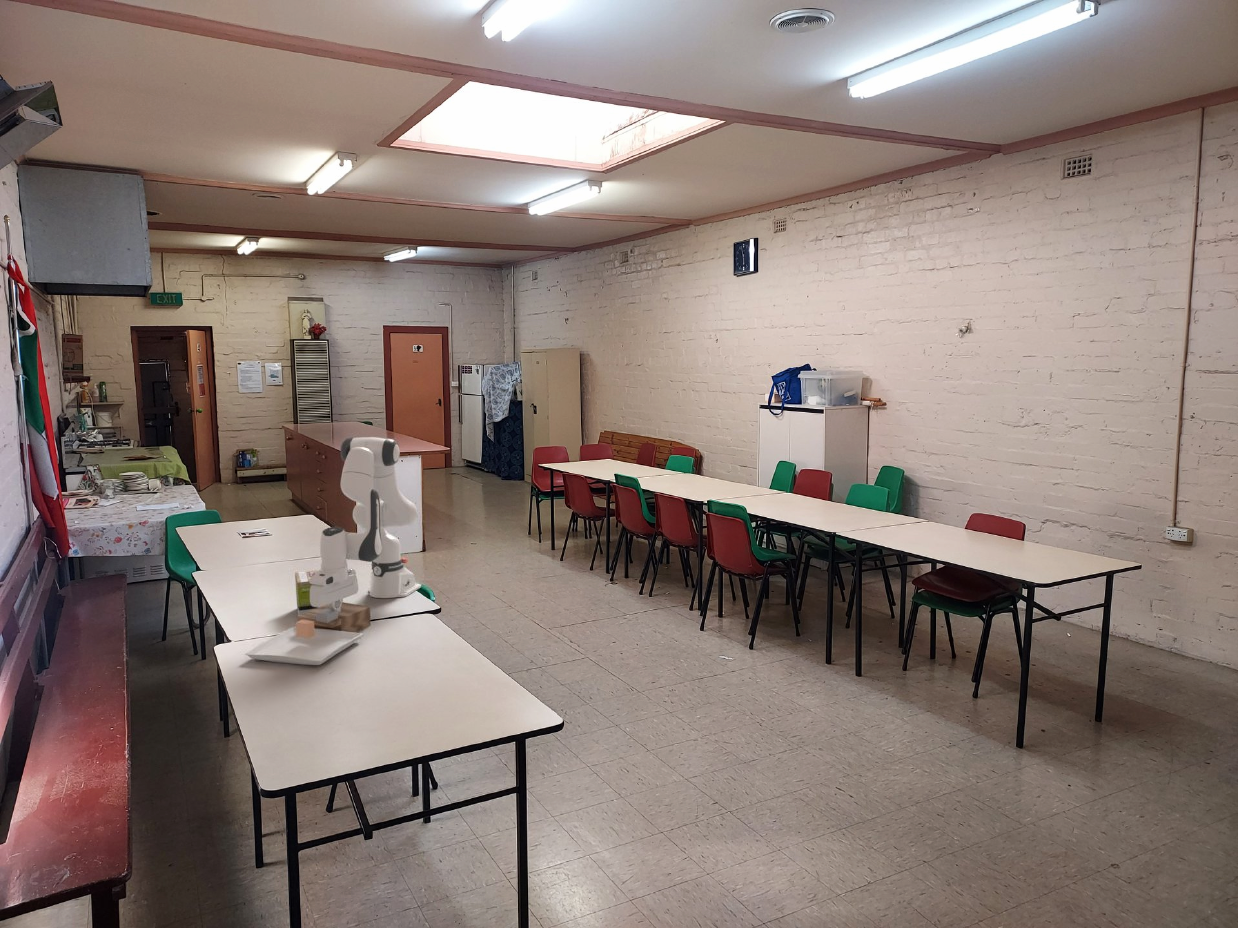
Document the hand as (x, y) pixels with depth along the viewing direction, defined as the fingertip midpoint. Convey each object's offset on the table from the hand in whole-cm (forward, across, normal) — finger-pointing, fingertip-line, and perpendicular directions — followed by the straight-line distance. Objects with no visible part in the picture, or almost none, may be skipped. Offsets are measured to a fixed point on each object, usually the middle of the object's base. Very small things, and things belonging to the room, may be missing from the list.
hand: (335, 612), depth 285 cm
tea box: (+9, -16, -27) cm, 32 cm away
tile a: (+3, +10, -3) cm, 11 cm away
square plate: (+9, +16, +2) cm, 18 cm away
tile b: (+1, +4, 0) cm, 4 cm away
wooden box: (+8, -4, -5) cm, 11 cm away
